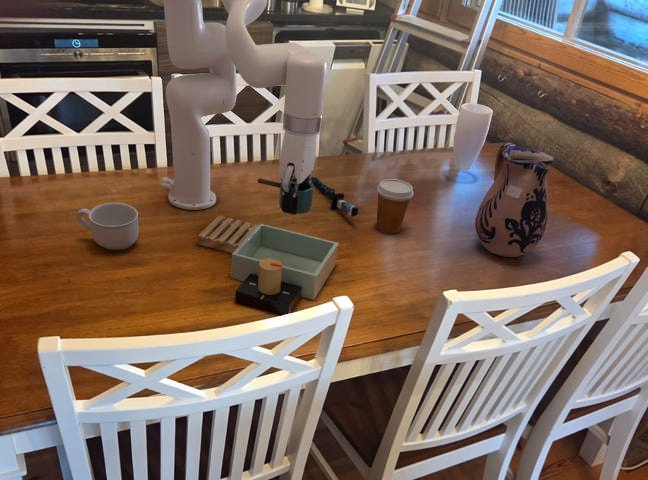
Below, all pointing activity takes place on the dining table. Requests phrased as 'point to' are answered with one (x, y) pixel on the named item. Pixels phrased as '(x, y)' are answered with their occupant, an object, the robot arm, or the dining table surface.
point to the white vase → (470, 134)
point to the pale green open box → (287, 257)
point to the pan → (303, 194)
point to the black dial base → (268, 296)
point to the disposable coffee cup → (392, 204)
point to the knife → (335, 198)
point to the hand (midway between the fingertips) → (295, 205)
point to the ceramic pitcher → (515, 202)
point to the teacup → (112, 225)
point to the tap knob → (270, 276)
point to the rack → (225, 234)
